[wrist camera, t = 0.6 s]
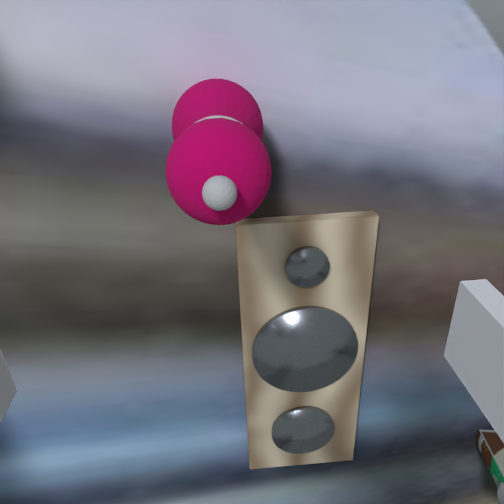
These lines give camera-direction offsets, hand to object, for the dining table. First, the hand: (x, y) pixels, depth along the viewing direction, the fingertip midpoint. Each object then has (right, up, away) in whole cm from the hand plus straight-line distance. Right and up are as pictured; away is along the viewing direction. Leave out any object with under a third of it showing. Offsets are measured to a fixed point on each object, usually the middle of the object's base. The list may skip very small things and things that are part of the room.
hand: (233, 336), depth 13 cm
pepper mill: (-3, +14, +27) cm, 31 cm away
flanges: (+6, -5, +36) cm, 37 cm away
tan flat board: (+6, -10, +40) cm, 42 cm away
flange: (+7, -20, +44) cm, 49 cm away
